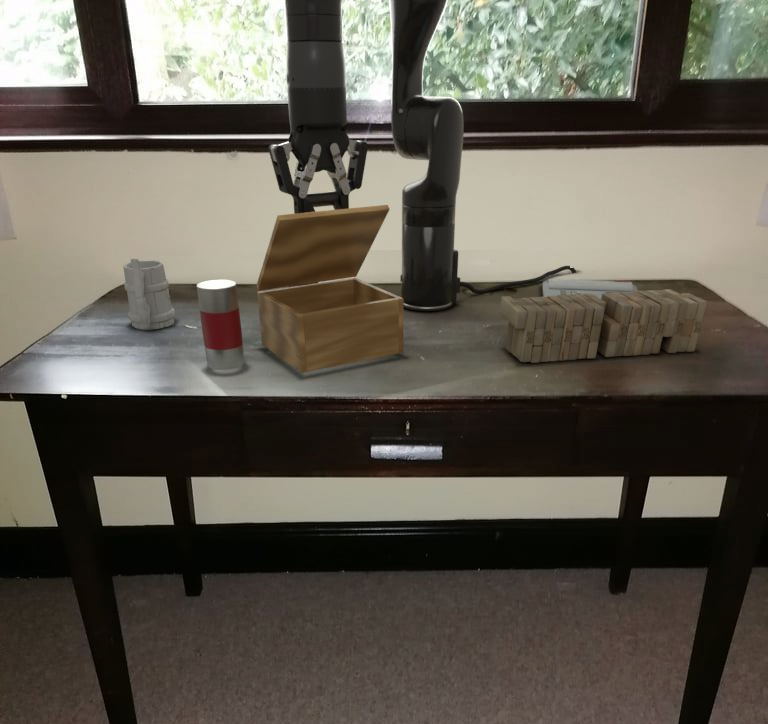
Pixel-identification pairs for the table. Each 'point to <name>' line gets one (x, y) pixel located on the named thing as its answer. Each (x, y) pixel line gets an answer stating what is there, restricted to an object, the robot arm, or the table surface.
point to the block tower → (602, 324)
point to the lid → (320, 243)
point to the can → (221, 324)
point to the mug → (148, 295)
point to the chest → (331, 323)
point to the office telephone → (585, 287)
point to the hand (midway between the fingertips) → (322, 224)
